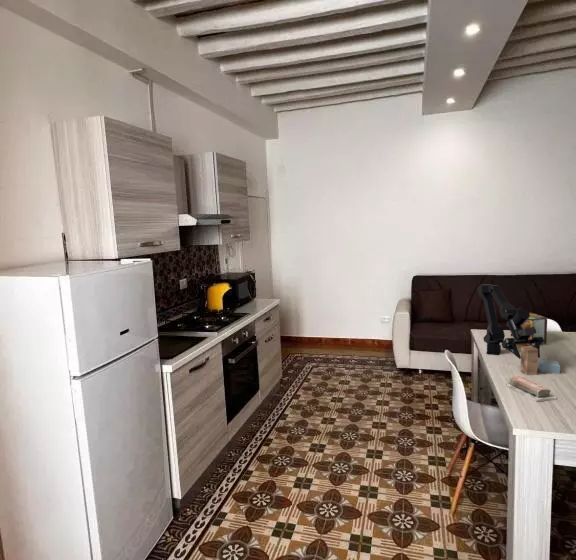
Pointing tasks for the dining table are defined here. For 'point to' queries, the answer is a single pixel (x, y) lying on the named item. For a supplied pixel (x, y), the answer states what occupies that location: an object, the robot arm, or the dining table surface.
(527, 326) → the candy box
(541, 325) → the protein box
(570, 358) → the dining table surface
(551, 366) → the slate base block
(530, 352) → the walnut block
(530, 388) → the packaged product
